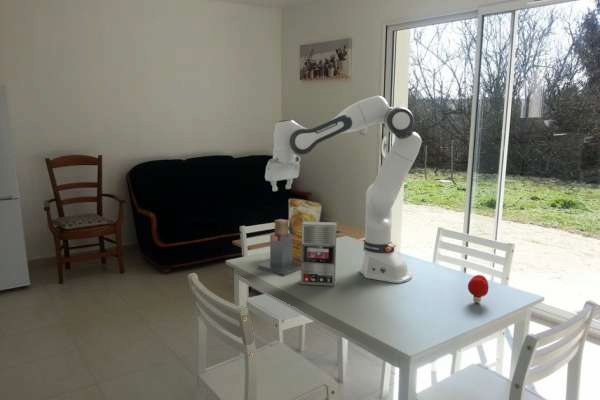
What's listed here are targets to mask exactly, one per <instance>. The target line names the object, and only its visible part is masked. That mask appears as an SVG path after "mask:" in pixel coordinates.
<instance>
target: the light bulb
mask: <svg viewBox="0 0 600 400" xmlns="http://www.w3.org/2000/svg"><path fill="white" fill-rule="evenodd" d="M467 289H468V292H469V293H470V294H471V295H472V297H473V299H472V301H473V302H474V303H475V302H476V303H475V304H479V303H480V302H482V297H485V296H486V295H487V294H488V293H489V282H488V280H487V278H486V277H485V276H484V275H481V274H477V275H474V276H472V278H471V279H470V280H469V282H468V283H467Z"/></svg>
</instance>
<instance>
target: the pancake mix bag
mask: <svg viewBox="0 0 600 400" xmlns="http://www.w3.org/2000/svg"><path fill="white" fill-rule="evenodd" d="M287 203H288V233H290V234H293V242H292V259H293V258H294V259H297V260H301V261H302V223H303V221H306V222H321V215H322V212H323V204H321V202H316V201H311V200H305V199H299V198H289V199H288V202H287Z"/></svg>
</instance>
